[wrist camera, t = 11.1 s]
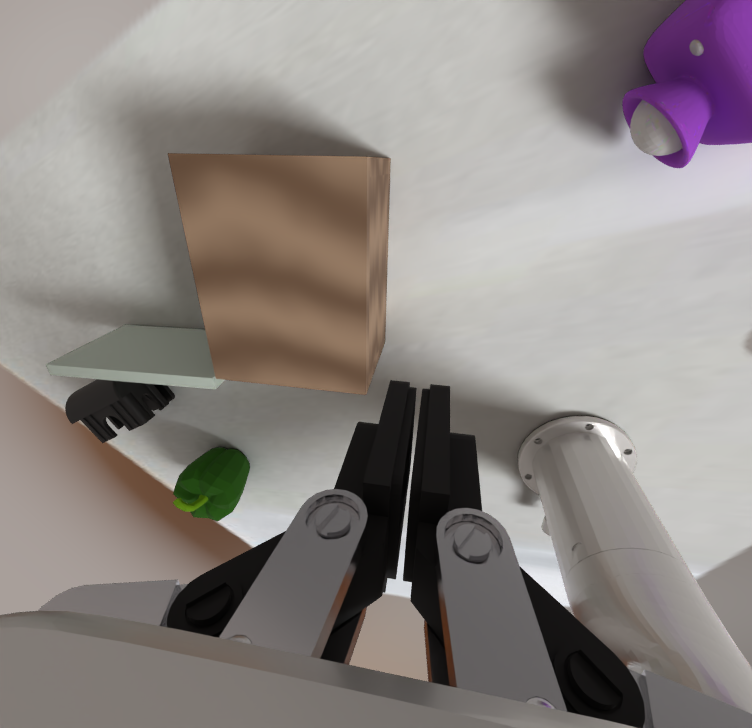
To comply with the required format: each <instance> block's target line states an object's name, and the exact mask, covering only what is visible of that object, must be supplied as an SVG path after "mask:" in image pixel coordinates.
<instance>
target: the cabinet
mask: <svg viewBox="0 0 752 728" xmlns="http://www.w3.org/2000/svg"><path fill="white" fill-rule="evenodd" d="M168 157H169V162H170V166H171V171H172V176H173V181H174V185H175V190H176V195H177V199H178V204H179V209H180V213H181V218H182V223H183V227H184V232H185V237H186V242H187V246H188V251H189V256H190V260H191V265H192V270H193V274H194V279H195V284H196V289H197V293H198V298H199V303H200V307H201V312H202V317H203V321H204V326H205V331H206V335H207V340H208V345H209V350H210V354H211V359H212V364H213V368H214V373H215V378H216V379H223V380H233V381H242V382H251V383H261V384H270V385H279V386H288V387H298V388H307V389H316V390H326V391H335V392H344V393H353V394H363V395H366V394H367V391H368V388H369V385H370V382H371V380H372V377H373V374H374V371H375V369H376V366H377V363H378V360H379V358H380V355H381V352H382V349H383V346H384V344H385V327H386V293H387V260H388V227H389V194H390V161H391V158H378V157H357V156H296V155H236V154H175V153H168Z"/></svg>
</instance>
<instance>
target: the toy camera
mask: <svg viewBox="0 0 752 728" xmlns="http://www.w3.org/2000/svg"><path fill="white" fill-rule="evenodd" d="M644 60H645V63H646V65H647V67H648V69H649V71H650V73H651V75H652V77H653V78H654V80H655V82H656V83H655V84H650V85H646V86H642V87H638V88H635V89H632V90H630V91H629V92H627V93H626V94H625V95H624V98H623V105H622V106H623V112H624V116H625V119H626V121H627V124H628V126H629V128H630V133H631V136H632V139H633V141H634V143H635V144H636V146H637V147H638V148H639V149H640V150H642V151H643V152H644V153H647V154H650V155H653V156H654V157H655V158H656V159H658V160H659V161H661V162H662V163H664V164H666V165H668V166H670V167H674V168H682V167H684V166H686V165H687V164H688V163H689V162H690V160H691V158H692V157H693V155H694V153H695V151H696V149H697V146H698V144H699V143H701V144H706V145H725V144H742V143H752V0H686V1H685V2H683V3H682V4H681V5H680V6H679V7H678V8H677V9H676V10H675V11H674V12H673V13H672V14H671V15H670V16H669V17H668V18H667V19H666V20H665V21H664V22H663V23H662V24H661V25H660V26H659V27H658V28H657V29H656V30H655V32H654V33H653V34H652V36H651V37H650V38H649V40H648V41H647V43H646V45H645V48H644Z"/></svg>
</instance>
